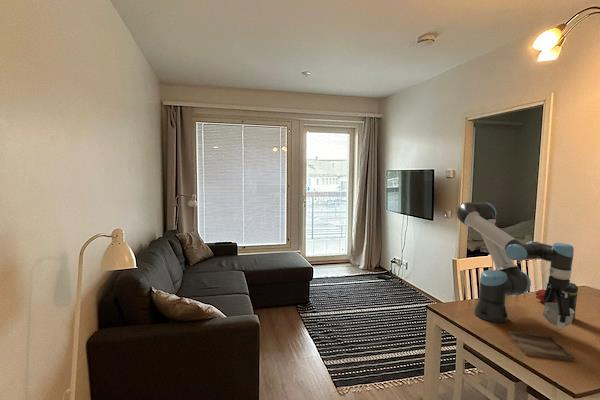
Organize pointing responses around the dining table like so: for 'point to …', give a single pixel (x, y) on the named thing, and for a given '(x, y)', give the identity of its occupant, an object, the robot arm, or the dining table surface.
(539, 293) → the dragon fruit
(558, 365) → the dining table surface
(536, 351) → the shallow tray
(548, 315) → the teacup
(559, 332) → the dining table surface
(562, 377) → the dining table surface
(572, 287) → the coffee jar
